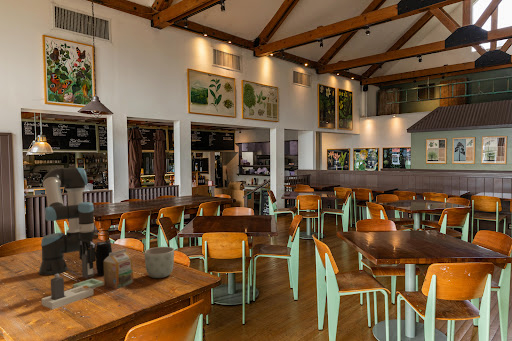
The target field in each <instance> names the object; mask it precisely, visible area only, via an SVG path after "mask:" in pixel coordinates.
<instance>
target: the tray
mask: <svg viewBox="0 0 512 341" xmlns="http://www.w3.org/2000/svg"><path fill="white" fill-rule="evenodd" d="M82 285H83V286H89V288H92V289H93V290H94V289H96V288H98V287H102V286H104V280H103V281H102V280H99V279H95V278H90V279H89V278H88V279H86V280H83V281H80V282H76V283H73V284H72V287H73V288H76V287H79V286H82ZM73 288H72V289H73Z"/></svg>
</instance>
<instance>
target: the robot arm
mask: <svg viewBox="0 0 512 341" xmlns="http://www.w3.org/2000/svg"><path fill="white" fill-rule="evenodd" d="M42 186H43V187H42V188H44V189H45V195H46V201H47V206H46V207H44V218H45V221H47V222H49V221H51V222H52V221H53V222H55V221H62V220H68V229H67V230H66V234H63V233H62V232H54V233H51V234H47V235H44V236H43V237H42V238H41V244H40V246H41V263H40V266H39V270H38V274H39V275H41V276H52V275H53V276H55V274H59V275H60V274H61V273H65V272H66V271H67V270H68V265H67V263H66V260H65V258H64V255H65V254H67V253H74V252H75V253H76V252H78V254H79V260H80V261H82V255H84V254H85V251H87V257H88V262H87V268H88V275H90V274H93V271H94V262H95V263H96V246H97V245H96V244H97V243H94V241H93V239H94V238H95V219H94V218H95V216H94V215H95V214H94V213H95V210H94V209H95V207H94V203H93V202H92V201H85V202H84V200H83V198H84V197H83V195H84V194H83V192H84V190H85V189H86V186H88V176H87V172H86V170H85V168H83V167H62V168H60V167H58V168H57V167H56V168H54V169H52V170H49V171H48V172H47V173H46V174H45V175H44V177H43V179H42ZM61 187H64V190H65V191H66V192H67V205H65V204H64V201H63V200H64V199H63V194H62V191H61Z"/></svg>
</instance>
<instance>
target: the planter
mask: <svg viewBox="0 0 512 341" xmlns="http://www.w3.org/2000/svg"><path fill="white" fill-rule="evenodd" d="M174 260H175V248H173V247H170V246H157V247H151V248H148V249H146V250H144V261H145V262H144V263H145V264H144V265H145V270H146V273H147V275H148V276H149V277H150V278H153V279H162V278H166V277H168V276H170V275H171V274H172V272H173V270H174Z"/></svg>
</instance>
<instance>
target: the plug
mask: <svg viewBox="0 0 512 341" xmlns="http://www.w3.org/2000/svg"><path fill="white" fill-rule="evenodd" d="M81 257H82V260H81V268H82V269H81V270H82V278H84V279H89V278H91V277H94V275H95V274H94V270H93V274H90V275H88V268H87V262H88V257H87V251H85V254H84V255H82V256H81Z"/></svg>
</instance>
